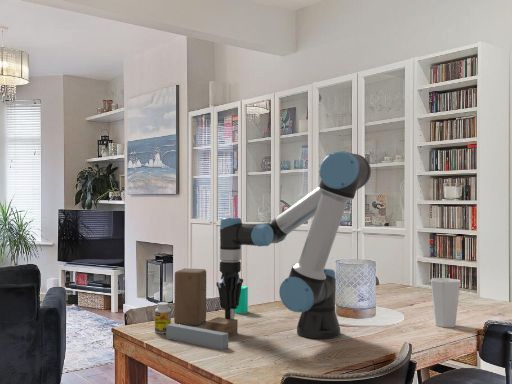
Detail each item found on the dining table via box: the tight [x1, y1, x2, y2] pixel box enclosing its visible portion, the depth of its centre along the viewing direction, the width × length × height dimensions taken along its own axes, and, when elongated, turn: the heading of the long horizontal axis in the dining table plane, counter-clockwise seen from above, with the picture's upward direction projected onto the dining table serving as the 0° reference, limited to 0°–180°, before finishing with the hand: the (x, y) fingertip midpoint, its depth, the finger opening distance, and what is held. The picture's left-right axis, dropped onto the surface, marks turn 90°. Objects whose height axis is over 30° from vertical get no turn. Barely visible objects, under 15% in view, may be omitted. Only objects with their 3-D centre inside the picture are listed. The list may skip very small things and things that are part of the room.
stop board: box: [165, 322, 229, 350], centre depth 178 cm, size 24×3×4 cm, turn 56°
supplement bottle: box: [154, 301, 172, 335], centre depth 192 cm, size 6×6×10 cm
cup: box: [429, 277, 461, 328], centre depth 205 cm, size 11×10×17 cm
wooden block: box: [173, 268, 207, 326], centre depth 208 cm, size 10×10×20 cm
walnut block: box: [205, 316, 239, 338], centre depth 190 cm, size 8×8×5 cm
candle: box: [235, 285, 249, 314], centre depth 228 cm, size 6×6×12 cm
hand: (229, 327), depth 194 cm, fingers closed
